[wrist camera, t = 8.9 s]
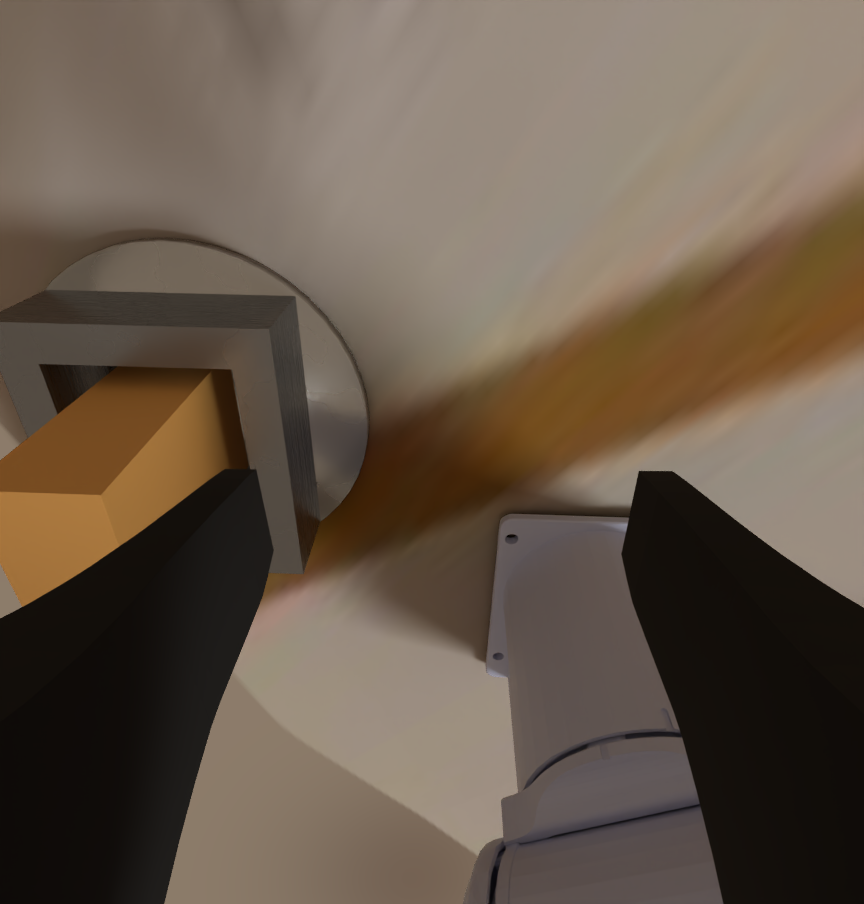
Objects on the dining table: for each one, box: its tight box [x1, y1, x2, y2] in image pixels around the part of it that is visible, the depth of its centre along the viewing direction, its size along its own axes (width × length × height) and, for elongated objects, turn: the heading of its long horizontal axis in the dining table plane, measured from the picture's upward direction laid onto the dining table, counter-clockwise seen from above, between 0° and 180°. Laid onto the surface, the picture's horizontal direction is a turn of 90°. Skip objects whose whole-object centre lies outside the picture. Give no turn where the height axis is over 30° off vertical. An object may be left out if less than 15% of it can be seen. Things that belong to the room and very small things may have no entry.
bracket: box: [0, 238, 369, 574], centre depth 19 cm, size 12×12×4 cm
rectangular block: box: [0, 366, 249, 607], centre depth 17 cm, size 3×4×8 cm, turn 179°
